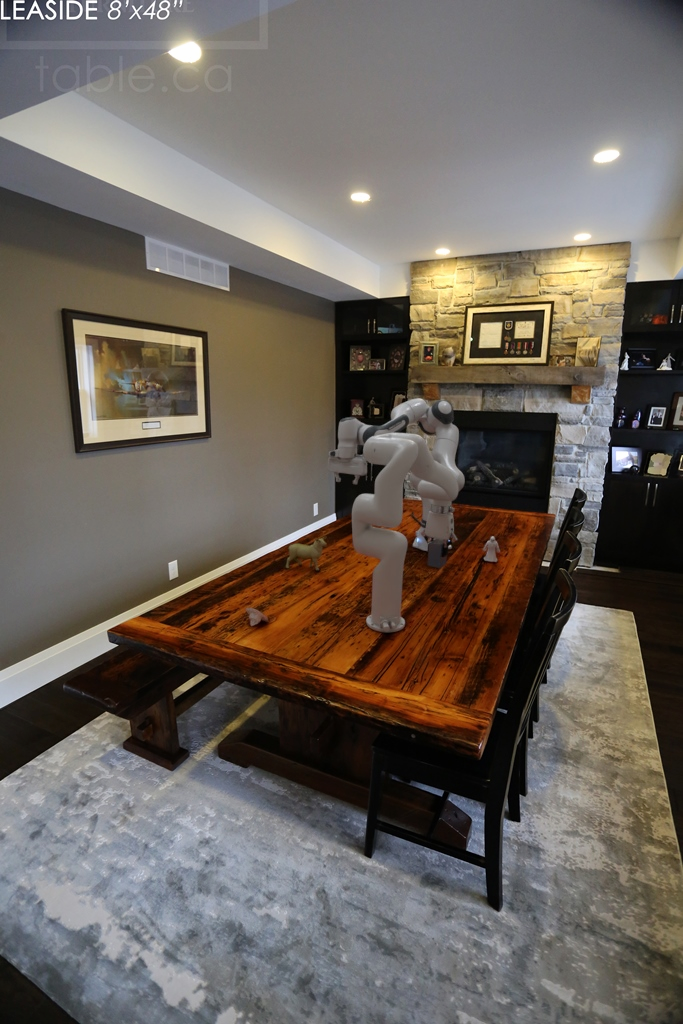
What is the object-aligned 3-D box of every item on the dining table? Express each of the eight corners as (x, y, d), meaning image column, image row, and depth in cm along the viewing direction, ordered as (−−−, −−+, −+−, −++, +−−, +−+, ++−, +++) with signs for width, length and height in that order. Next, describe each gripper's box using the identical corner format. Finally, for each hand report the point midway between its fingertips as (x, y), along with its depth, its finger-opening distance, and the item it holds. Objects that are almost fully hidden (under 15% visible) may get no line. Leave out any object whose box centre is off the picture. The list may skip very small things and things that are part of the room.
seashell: (251, 634, 162) (235, 615, 161) (262, 623, 165) (246, 604, 164) (262, 630, 156) (245, 610, 155) (273, 618, 159) (257, 599, 158)
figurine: (481, 562, 222) (483, 536, 219) (482, 556, 230) (484, 531, 227) (499, 564, 220) (501, 538, 217) (499, 558, 228) (501, 533, 225)
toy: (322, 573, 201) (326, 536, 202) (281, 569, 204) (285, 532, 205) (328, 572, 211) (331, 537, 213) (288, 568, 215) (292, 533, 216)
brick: (446, 564, 195) (448, 541, 193) (439, 568, 190) (441, 544, 188) (434, 561, 198) (436, 538, 196) (427, 565, 193) (429, 542, 191)
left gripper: (466, 510, 187) (462, 557, 191) (424, 504, 196) (421, 548, 201) (458, 514, 181) (454, 562, 185) (416, 507, 190) (413, 552, 195)
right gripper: (370, 454, 226) (369, 484, 229) (333, 450, 237) (333, 479, 241) (362, 456, 221) (361, 486, 224) (325, 452, 232) (325, 481, 236)
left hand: (437, 554), depth 193 cm, fingers closed on brick, 5 cm apart
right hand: (346, 482), depth 233 cm, fingers open, 8 cm apart
